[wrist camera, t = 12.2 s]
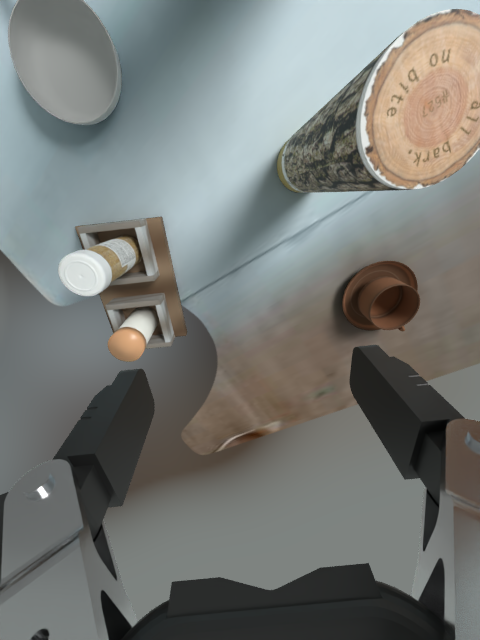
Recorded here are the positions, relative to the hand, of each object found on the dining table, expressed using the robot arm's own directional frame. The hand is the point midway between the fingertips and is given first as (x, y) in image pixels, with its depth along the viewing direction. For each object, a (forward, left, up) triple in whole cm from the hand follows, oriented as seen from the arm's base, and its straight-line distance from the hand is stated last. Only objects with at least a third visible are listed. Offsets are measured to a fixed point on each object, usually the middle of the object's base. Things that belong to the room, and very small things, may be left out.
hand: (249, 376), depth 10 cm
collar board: (+5, -16, -32) cm, 36 cm away
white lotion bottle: (+11, -16, -31) cm, 36 cm away
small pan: (-24, -17, -32) cm, 44 cm away
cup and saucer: (+11, +22, -32) cm, 41 cm away
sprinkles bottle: (-1, -16, -31) cm, 35 cm away
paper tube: (-9, +10, -32) cm, 35 cm away
